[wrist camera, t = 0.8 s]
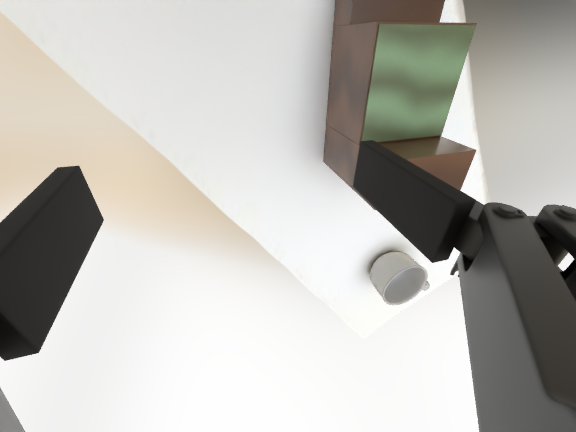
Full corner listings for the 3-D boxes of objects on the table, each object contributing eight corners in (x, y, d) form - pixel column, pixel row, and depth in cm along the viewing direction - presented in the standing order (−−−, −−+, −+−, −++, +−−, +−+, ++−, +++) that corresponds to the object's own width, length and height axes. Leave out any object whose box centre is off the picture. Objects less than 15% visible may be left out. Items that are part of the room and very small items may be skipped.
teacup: (355, 273, 61) (374, 300, 55) (386, 238, 58) (409, 263, 51) (391, 285, 68) (411, 311, 62) (420, 255, 65) (445, 278, 58)
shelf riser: (338, -39, 30) (439, -96, 18) (426, -33, 33) (568, -78, 20) (323, 161, 43) (374, 210, 31) (387, 154, 46) (458, 195, 34)
